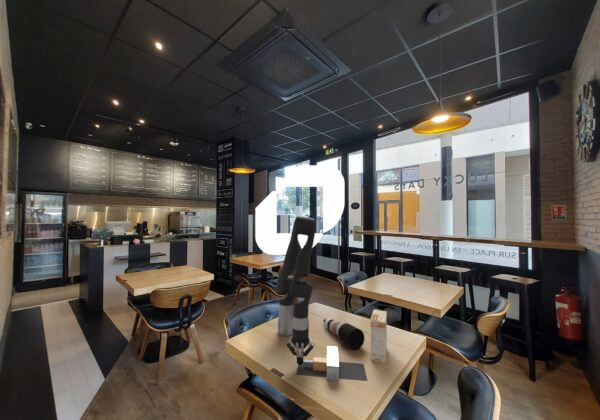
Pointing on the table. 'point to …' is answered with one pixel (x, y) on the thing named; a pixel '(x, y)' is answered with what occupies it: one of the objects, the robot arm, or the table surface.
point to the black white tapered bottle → (346, 333)
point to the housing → (332, 363)
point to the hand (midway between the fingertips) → (299, 364)
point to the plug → (316, 363)
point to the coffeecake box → (379, 336)
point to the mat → (345, 371)
